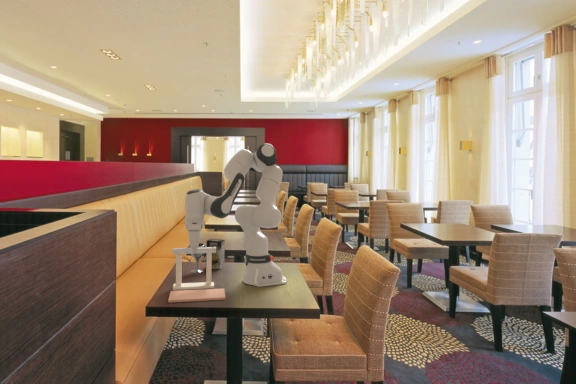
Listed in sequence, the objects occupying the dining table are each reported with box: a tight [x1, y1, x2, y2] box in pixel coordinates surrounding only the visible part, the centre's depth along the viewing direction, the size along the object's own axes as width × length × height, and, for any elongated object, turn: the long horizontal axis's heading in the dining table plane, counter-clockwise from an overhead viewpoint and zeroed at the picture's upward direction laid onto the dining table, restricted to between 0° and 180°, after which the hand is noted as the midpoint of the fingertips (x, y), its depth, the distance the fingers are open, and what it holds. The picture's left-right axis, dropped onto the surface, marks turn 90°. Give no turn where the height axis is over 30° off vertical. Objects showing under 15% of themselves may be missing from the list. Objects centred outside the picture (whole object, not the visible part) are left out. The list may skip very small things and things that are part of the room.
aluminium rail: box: [172, 246, 216, 255], centre depth 174 cm, size 20×2×2 cm, turn 103°
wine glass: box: [189, 242, 206, 274], centre depth 201 cm, size 8×8×15 cm
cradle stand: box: [172, 253, 215, 291], centre depth 174 cm, size 19×6×16 cm, turn 103°
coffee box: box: [205, 238, 226, 270], centre depth 210 cm, size 9×6×16 cm
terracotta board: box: [167, 287, 227, 304], centre depth 163 cm, size 24×12×1 cm, turn 103°
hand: (194, 252), depth 174 cm, fingers closed on aluminium rail, 2 cm apart
